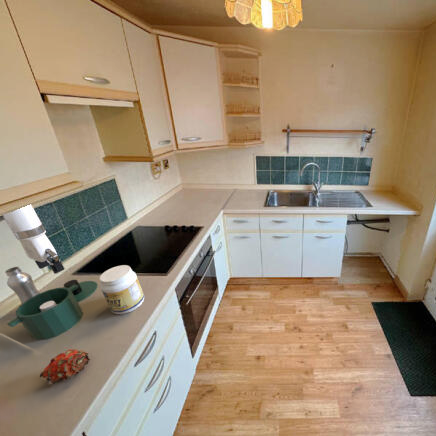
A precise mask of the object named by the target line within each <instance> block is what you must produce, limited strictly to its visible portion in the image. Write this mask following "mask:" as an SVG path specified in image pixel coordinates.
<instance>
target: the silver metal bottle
mask: <svg viewBox="0 0 436 436" xmlns="http://www.w3.org/2000/svg"><path fill="white" fill-rule="evenodd" d="M4 273H5V274H6V276H7V277H8V278H7V281H6V285H7V287H9V289H11V290H12V291H13V292H14V293H15V295H16V296H17V297H18V299H19V301H20V303H21V305H22V304H23V303H24V302H25V301H27V300H28V299H30V298H32V297H34V296H35V295H37V294H40V293H41V292H40V291H39V290H38V288H37V287H36V284H35V283H34V280H33V277H32V275H31V274H30V273H27V272H23V271H22V269H21V268H20V267H19V266H13V267H10V268H8V269H6V270H5V272H4Z"/></svg>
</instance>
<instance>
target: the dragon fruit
mask: <svg viewBox="0 0 436 436" xmlns="http://www.w3.org/2000/svg"><path fill="white" fill-rule="evenodd" d="M90 361H91V359H90V357H89V351H86V350H83V349H67V350H66V351H65V352H60V353H59V354H57V355H56V356H55V357H53V358H51V359H50V362H49V363H48V365H47V366H46V367H45V368H44V369H43V370H42V371H41V372H40V374H39V377H40V378H43V379H46V381H48V382H47V384H48V385H49V386H53V384H54V383H55V382H57V381H58V380H60V379H61V378H62V381H63V382H65V381H68V380H69V379H72V378H73V377H74V375H77V374H78V373H80V372H82V371H83V370H84V369H85V366H87V365H88V364H89V363H90Z"/></svg>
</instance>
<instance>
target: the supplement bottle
mask: <svg viewBox="0 0 436 436" xmlns="http://www.w3.org/2000/svg"><path fill="white" fill-rule="evenodd" d="M56 305H57V304H55V302H54V301H48V302H46V303H44V304H42V305H41V306H40V310H41V311H42V312H44V311H46V310H48V309H51V308H53V307H54V306H56Z"/></svg>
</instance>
